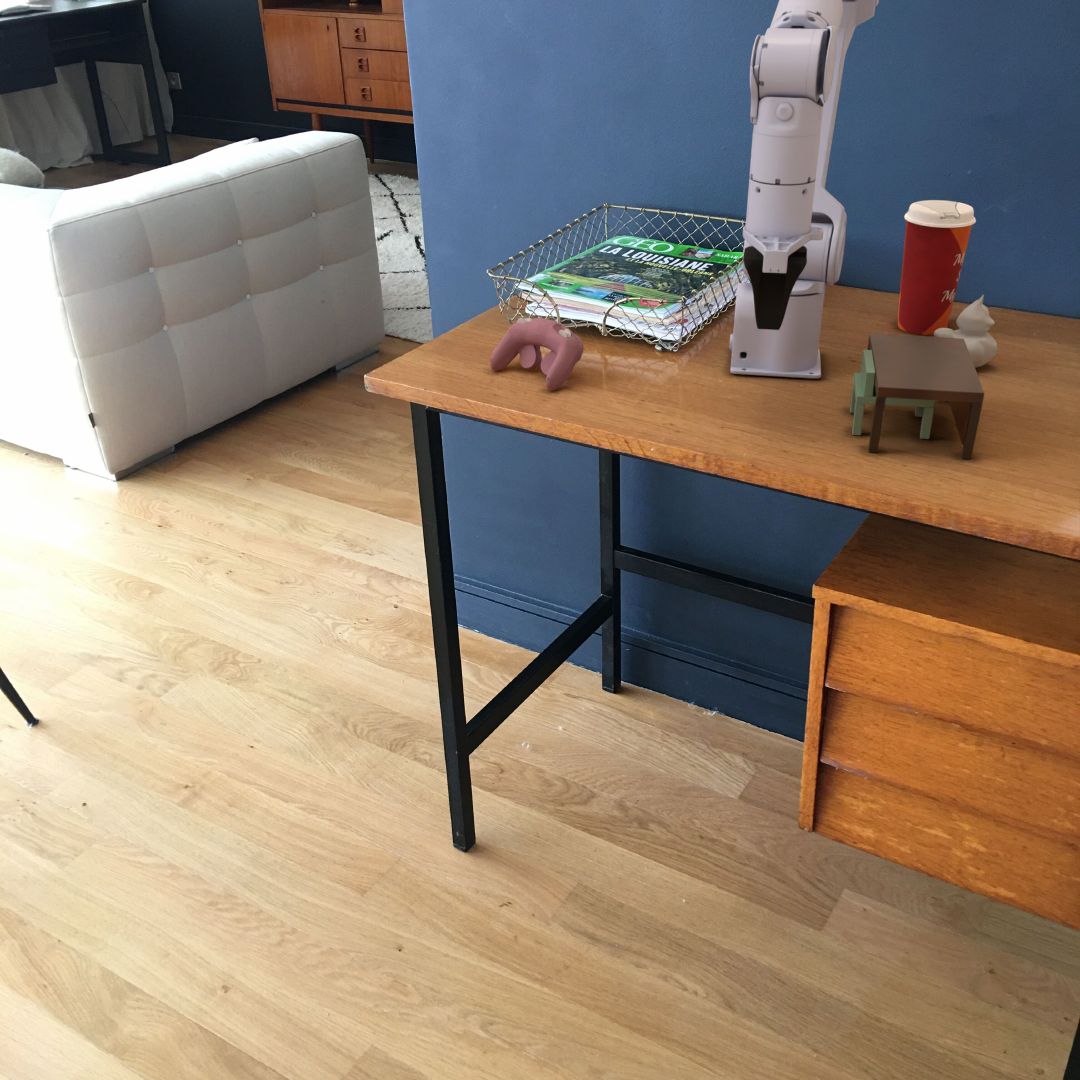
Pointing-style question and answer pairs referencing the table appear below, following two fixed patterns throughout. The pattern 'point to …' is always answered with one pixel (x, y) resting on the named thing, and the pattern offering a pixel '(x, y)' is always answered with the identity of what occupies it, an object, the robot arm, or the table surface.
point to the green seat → (867, 395)
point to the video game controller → (527, 344)
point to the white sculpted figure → (974, 332)
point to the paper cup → (932, 263)
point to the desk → (927, 380)
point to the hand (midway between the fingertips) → (768, 327)
